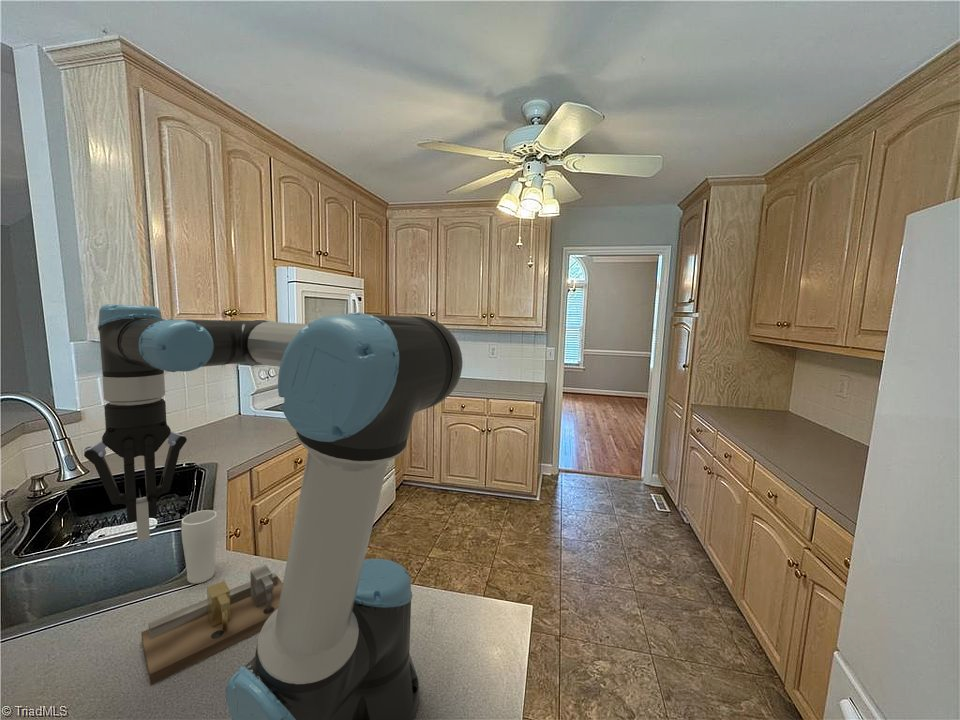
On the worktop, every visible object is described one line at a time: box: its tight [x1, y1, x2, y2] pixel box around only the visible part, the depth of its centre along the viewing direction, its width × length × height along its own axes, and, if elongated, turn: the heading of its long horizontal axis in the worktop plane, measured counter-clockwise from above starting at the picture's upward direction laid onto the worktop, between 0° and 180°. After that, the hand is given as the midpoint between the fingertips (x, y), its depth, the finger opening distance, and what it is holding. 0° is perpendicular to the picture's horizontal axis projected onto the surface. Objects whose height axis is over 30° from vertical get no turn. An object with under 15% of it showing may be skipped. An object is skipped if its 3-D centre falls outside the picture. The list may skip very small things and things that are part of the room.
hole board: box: [140, 564, 283, 686], centre depth 78 cm, size 12×24×8 cm, turn 136°
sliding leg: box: [206, 580, 231, 631], centre depth 77 cm, size 7×3×6 cm, turn 46°
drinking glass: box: [181, 509, 219, 585], centre depth 91 cm, size 7×7×15 cm
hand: (143, 537), depth 66 cm, fingers closed
